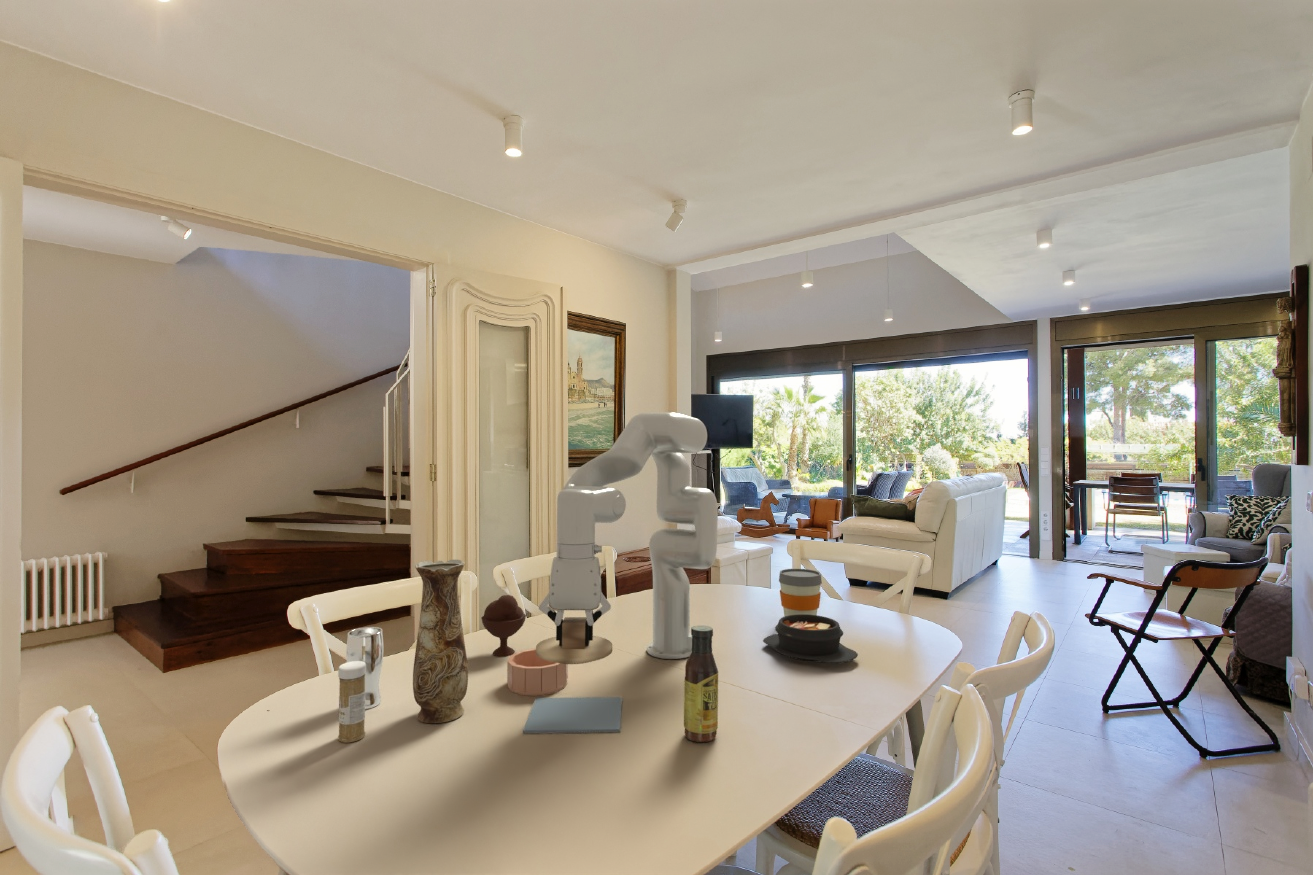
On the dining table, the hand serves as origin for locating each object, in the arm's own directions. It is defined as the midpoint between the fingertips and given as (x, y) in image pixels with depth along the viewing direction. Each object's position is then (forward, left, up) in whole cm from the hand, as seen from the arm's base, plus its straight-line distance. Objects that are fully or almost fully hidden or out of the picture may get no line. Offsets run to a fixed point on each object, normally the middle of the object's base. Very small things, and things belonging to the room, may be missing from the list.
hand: (574, 643), depth 126 cm
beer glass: (+44, -7, -15) cm, 47 cm away
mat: (0, 0, -14) cm, 14 cm away
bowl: (+10, -17, -15) cm, 24 cm away
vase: (+27, -2, -15) cm, 31 cm away
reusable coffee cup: (-61, -63, -15) cm, 89 cm away
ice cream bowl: (+22, -38, -15) cm, 46 cm away
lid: (0, 0, -1) cm, 1 cm away
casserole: (-56, -35, -15) cm, 68 cm away
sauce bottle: (-24, +9, -15) cm, 30 cm away
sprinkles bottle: (+40, +8, -15) cm, 43 cm away
